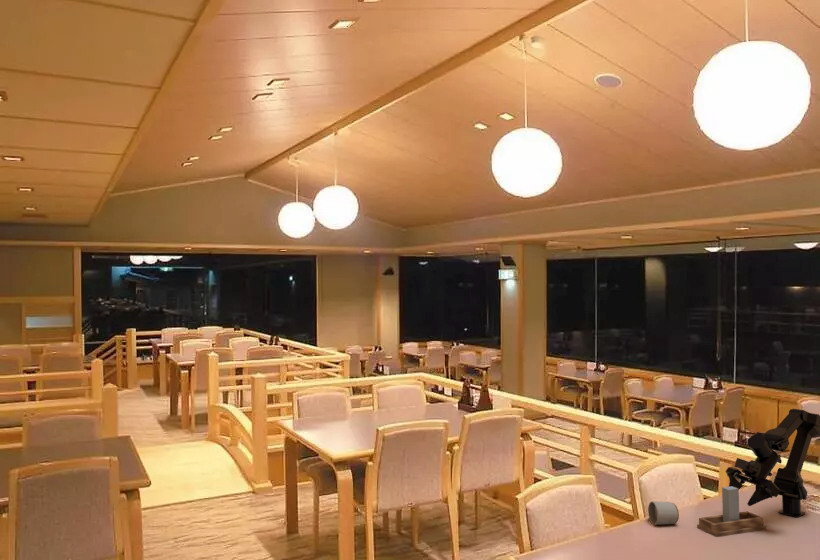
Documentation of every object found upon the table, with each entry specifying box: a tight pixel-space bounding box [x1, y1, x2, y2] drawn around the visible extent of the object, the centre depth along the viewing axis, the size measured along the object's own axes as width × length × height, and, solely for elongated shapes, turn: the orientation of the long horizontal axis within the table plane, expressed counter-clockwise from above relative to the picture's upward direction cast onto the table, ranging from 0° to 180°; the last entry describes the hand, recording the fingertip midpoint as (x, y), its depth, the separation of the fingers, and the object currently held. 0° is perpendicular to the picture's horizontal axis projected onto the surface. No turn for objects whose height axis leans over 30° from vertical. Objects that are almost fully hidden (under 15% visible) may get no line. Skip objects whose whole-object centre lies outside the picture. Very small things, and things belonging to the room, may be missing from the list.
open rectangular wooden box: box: [696, 510, 767, 538], centre depth 219 cm, size 20×9×4 cm, turn 106°
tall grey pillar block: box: [721, 486, 740, 522], centre depth 219 cm, size 4×3×12 cm
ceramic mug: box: [647, 500, 680, 526], centre depth 227 cm, size 11×8×8 cm
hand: (737, 501), depth 220 cm, fingers open, 9 cm apart
